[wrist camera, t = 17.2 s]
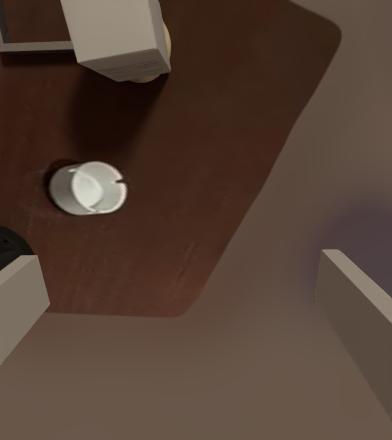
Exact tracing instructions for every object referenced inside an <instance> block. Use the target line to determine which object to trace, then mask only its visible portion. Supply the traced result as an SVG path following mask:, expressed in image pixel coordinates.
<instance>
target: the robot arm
mask: <svg viewBox="0 0 392 440" xmlns="http://www.w3.org/2000/svg"><path fill="white" fill-rule="evenodd" d="M314 301H315V303H316V304H317V306H318V307H319V309H320V311H321V312H322V314H323V315H324V317H325V318H326V320H327V321H328V323H329V325H330V326H331V328H332V329H333V331H334V332H335V334H336V335H337V337H338V338H339V340H340V341H341V343H342V345H343V346H344V348H345V349H346V351H347V352H348V354H349V356H350V357H351V359H352V360H353V362H354V363H355V365H356V366H357V368H358V370H359V371H360V373H361V374H362V376H363V377H364V379H365V380H366V382H367V383H368V385H369V387H370V388H371V390H372V391H373V393H374V394H375V396H376V398H377V399H378V401H379V402H380V404H381V405H382V407H383V408H384V410H385V412H386V413H387V415H388V416H389V418H390V419H391V421H392V298H391V297H390V296H388V295H387V294H386V293H385V292H384V291H383V290H382V289H381V288H380V287H379V286H378V285H377V284H376V283H375V282H373V281H372V280H371V279H370V278H369V277H368V276H367V275H366V274H365V273H364V272H362V271H361V270H360V269H359V268H358V267H357V266H356V265H355V264H354V263H353V262H352V261H350V260H349V259H348V258H347V257H346V256H345V255H344V254H343V253H342V252H341V251H339V250H322V251H321V257H320V263H319V270H318V276H317V284H316V290H315V297H314ZM49 305H50V302H49V299H48V295H47V291H46V287H45V283H44V279H43V275H42V271H41V268H40V264H39V260H38V256H37V255H34V254H33V251H32V250H31V248H30V246H29V245H28V244H27V243H26V241H25V240H24V239H23V238H21V237H20V236H19V235H18V234H16V233H15V232H13V231H11V230H9V229H7V228H5V227H2V226H0V365H1V363H2V362H3V361H4V360H5V359H6V357H7V356H8V355H9V354H10V352H11V351H12V350H13V349H14V348H15V346H16V345H17V344H18V343H19V341H20V340H21V339H22V338H23V337H24V335H25V334H26V333H27V332H28V331H29V329H30V328H31V327H32V326H33V324H34V323H35V322H36V321H37V320H38V318H39V317H40V316H41V314H42V313H43V312H44V311H45V310H46V309H47V307H48V306H49Z"/></svg>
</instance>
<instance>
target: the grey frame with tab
mask: <svg viewBox="0 0 392 440" xmlns="http://www.w3.org/2000/svg"><path fill="white" fill-rule="evenodd" d="M0 52H1V53H4V54H7V55H18V54H47V53H75V52H74V48H73V45H72V41H62V42H34V43H11V39H10V34H9V30H8V25H7V21H6V17H5V12H4V8H3V3H2V0H0Z"/></svg>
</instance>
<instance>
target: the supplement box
mask: <svg viewBox="0 0 392 440" xmlns="http://www.w3.org/2000/svg"><path fill="white" fill-rule="evenodd" d="M60 1H61V4H62V8H63V12H64V15H65V19H66V23H67V26H68V30H69V34H70V37H71V41H72V45H73V48H74V52H75V55H76V59H77V63H79V64H81V65H83V66H85V67H87V68H90V69H92V70H94V71H96V72H98V73H100V74H102V75H105V76H107V77H109V78H111V79H113V80H115V81H117V82H121V81H126V80H132V79H137V78H142V77H148V76H153V75H158V74H164V73H169V72H170V71H171V68H170V62H169V56H168V50H167V44H166V38H165V32H164V26H163V20H162V14H161V8H160V4H159V2H158V0H60Z"/></svg>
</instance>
